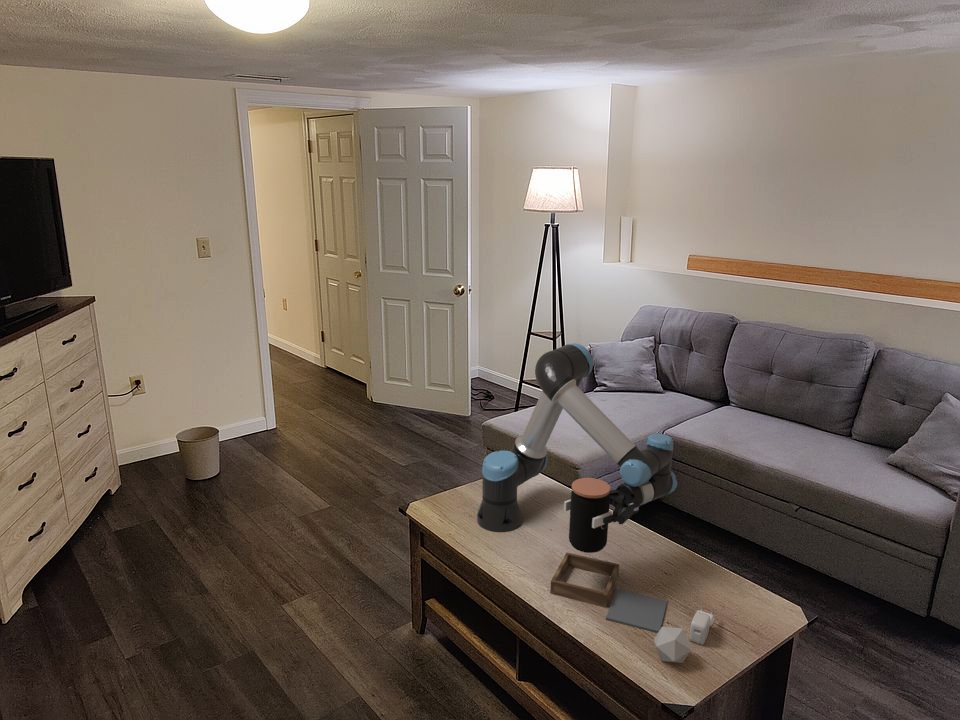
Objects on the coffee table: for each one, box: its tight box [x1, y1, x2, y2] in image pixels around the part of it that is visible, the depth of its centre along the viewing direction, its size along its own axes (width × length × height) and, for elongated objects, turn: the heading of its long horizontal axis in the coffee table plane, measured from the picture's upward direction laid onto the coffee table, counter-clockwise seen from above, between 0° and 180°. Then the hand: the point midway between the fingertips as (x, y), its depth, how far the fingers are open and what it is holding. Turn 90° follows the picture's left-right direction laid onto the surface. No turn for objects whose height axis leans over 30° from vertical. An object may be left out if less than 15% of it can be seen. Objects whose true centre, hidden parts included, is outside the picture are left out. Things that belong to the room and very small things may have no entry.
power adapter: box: [689, 606, 716, 646], centre depth 176 cm, size 11×5×6 cm, turn 148°
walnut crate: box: [549, 552, 620, 608], centre depth 195 cm, size 16×16×4 cm
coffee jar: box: [568, 477, 612, 554], centre depth 190 cm, size 11×11×18 cm
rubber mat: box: [605, 588, 668, 634], centre depth 185 cm, size 14×14×1 cm
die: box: [653, 626, 692, 664], centre depth 166 cm, size 8×9×10 cm
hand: (578, 514), depth 187 cm, fingers closed on coffee jar, 11 cm apart
